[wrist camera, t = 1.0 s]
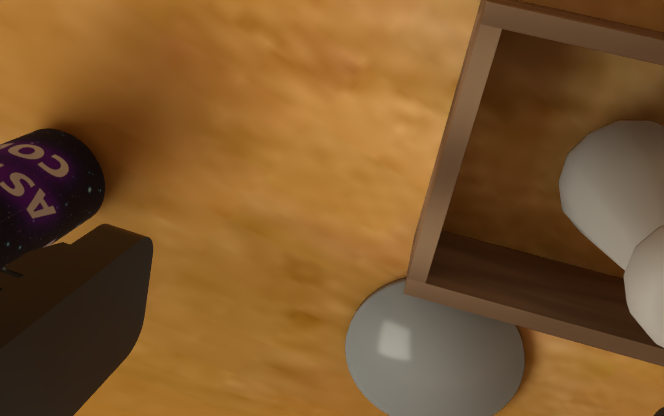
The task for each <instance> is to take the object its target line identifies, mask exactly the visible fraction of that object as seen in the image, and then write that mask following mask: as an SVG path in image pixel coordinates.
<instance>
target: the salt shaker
mask: <svg viewBox="0 0 664 416" xmlns="http://www.w3.org/2000/svg"><path fill="white" fill-rule="evenodd" d="M559 190H560V198H561V205H562V211H563V212H564V213H565V214H566V215H567V217H568V218H569V219H570V220H571V222H572V223H573V224H574V225H575V226H576V228H577V229H578V230H579V231H580V232H581V233H582V234H583V235H584V236H586V237H587V238H588V239H589V240H590V241H591V242H592V243H594V244H595V245H596V246H597V247H598V248H599V249H601V250H602V251H603V252H604V253H605V254H606V255H607V256H609V257H610V258H611V259H612V260H613V261H614V262H615V263H617V264H618V265H619V266H620V267H621V268H622V269H623V270H625V273H624V284H625V292H626V301H627V305H628V308H629V311H630V313H631V314H632V316H633V317H634V318H635V319H636V321H637V322H638V323H639V324H640V326H641V327H642V328H643V329H644V330H645V332H646V333H647V334H648V335H649V336H650V338H651V339H652V340H653V341H654V342H655V343H656V344H657V345H659V346H661V347H663V348H664V126H662V125H660V124H658V123H656V122H653V121H643V120H618V121H615V122H613V123H611V124H608V125H606V126H604V127H601V128H599V129H597V130H594V131H592V132H590V133H589V134H587V135H586V136H585V137H584V138H583V139H582V140H581V141H580V142H579V143H578V144H577V145H576V146H575V147H574V148H573V149H572V150H571V151H570V152H569V153H568V154H567V157H566V160H565V163H564V166H563V169H562V173H561V176H560V179H559Z"/></svg>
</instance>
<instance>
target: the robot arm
mask: <svg viewBox="0 0 664 416" xmlns="http://www.w3.org/2000/svg"><path fill="white" fill-rule="evenodd" d="M152 256H153V243H152V240H151V239H150V238H149V237H146V236H143V235H140V234H137V233H134V232H131V231H128V230H125V229H121V228H118V227H115V226H112V225H109V224H102V225H100V226H98V227H97V228H95V229H93V230H92V231H90V232H89V233H87V234H86V235H84V236H83V237H81V238H80V239H78V240H77V241H75V242H74V243H72V244H71V245H70V244H67V243H64V242H61V243H58V244H54V245H51V246H47V247H44V248H40V249H36V250H33V251H29V252H27V253H26V254H24V255H22V256H21V257H19V258H17V259H16V260H14V261H13V262H11V263H9V264H8V265H6V266H4V267H3V268H2V271H1V272H0V416H73V415H74V414H75V413H76V412H77V411H78V410H79V409H80V408H81V407H82V406H83V404H84V403H85V402H86V401H87V400H88V399H89V398H90V397H91V396H92V395H93V394H94V392H95V391H96V390H97V389H98V388H99V387H100V386H101V385H102V384H103V383H104V381H105V380H106V379H107V378H108V377H109V376H110V375H111V374H112V373H113V372H114V371H115V369H116V368H117V367H118V366H119V365H120V364H121V363H122V362H123V361H124V360H125V359H126V357H127V356H128V355H129V353H130V352H131V351H132V349H133V347H134V345H135V343H136V342H137V339H138V337H139V335H140V332H141V329H142V326H143V321H144V315H145V308H146V301H147V293H148V286H149V278H150V271H151V264H152ZM654 416H664V407H663V408H661V409H660V410H658V411H657V412H656V413H655V415H654Z"/></svg>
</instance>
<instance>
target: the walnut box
mask: <svg viewBox="0 0 664 416" xmlns="http://www.w3.org/2000/svg"><path fill="white" fill-rule="evenodd" d="M502 29H504V30H509V31H513V32H518V33H522V34H526V35H531V36H535V37H540V38H544V39H549V40H553V41H557V42H562V43H566V44H571V45H575V46H580V47H584V48H588V49H593V50H597V51H602V52H606V53H611V54H615V55H619V56H624V57H628V58H633V59H637V60H642V61H646V62H650V63H655V64H659V65H664V33H662V32H657V31H653V30H648V29H644V28H639V27H635V26H630V25H626V24H621V23H617V22H612V21H607V20H603V19H598V18H594V17H589V16H585V15H580V14H576V13H571V12H567V11H562V10H558V9H553V8H548V7H544V6H539V5H535V4H530V3H526V2H521V1H517V0H481V3H480V6H479V10H478V13H477V17H476V20H475V24H474V27H473V31H472V35H471V38H470V42H469V45H468V49H467V52H466V56H465V59H464V63H463V66H462V70H461V73H460V77H459V80H458V84H457V88H456V91H455V95H454V98H453V102H452V105H451V109H450V112H449V116H448V119H447V123H446V126H445V130H444V134H443V137H442V141H441V144H440V148H439V151H438V155H437V158H436V162H435V165H434V169H433V172H432V176H431V179H430V183H429V187H428V190H427V194H426V197H425V201H424V204H423V208H422V211H421V215H420V218H419V222H418V225H417V229H416V232H415V236H414V240H413V246H412V251H411V256H410V261H409V266H408V271H407V277H406V282H405V287H404V292H403V294H406V295H410V296H413V297H417V298H420V299H424V300H428V301H431V302H435V303H438V304H442V305H445V306H449V307H453V308H456V309H460V310H463V311H467V312H471V313H474V314H478V315H481V316H485V317H488V318H492V319H496V320H499V321H503V322H506V323H510V324H513V325H517V326H521V327H524V328H528V329H531V330H535V331H539V332H542V333H546V334H549V335H553V336H556V337H560V338H564V339H567V340H571V341H574V342H578V343H581V344H585V345H589V346H592V347H596V348H599V349H603V350H606V351H610V352H614V353H617V354H621V355H624V356H628V357H632V358H635V359H639V360H642V361H646V362H649V363H653V364H657V365H660V366H664V348H663V347H661V346H659V345H657V344H656V343H655V342H654V341H653V340H652V339H651V338H650V336H649V335H648V334H647V333H646V332H645V330H644V329H643V328H642V327H641V326H640V324H639V323H638V322H637V321H636V319H635V318H634V317H633V316H632V314H631V313H630V311H629V308H628V305H627V301H626V292H625V284H624V279H621V278H617V277H614V276H610V275H606V274H602V273H598V272H595V271H591V270H587V269H583V268H580V267H576V266H572V265H568V264H565V263H561V262H557V261H553V260H550V259H546V258H542V257H538V256H535V255H531V254H527V253H523V252H519V251H516V250H512V249H508V248H504V247H501V246H497V245H493V244H489V243H486V242H482V241H478V240H474V239H471V238H467V237H463V236H459V235H456V234H452V233H448V232H444V231H441V230H442V227H443V223H444V220H445V217H446V213H447V210H448V207H449V203H450V200H451V197H452V193H453V190H454V187H455V184H456V180H457V177H458V174H459V170H460V167H461V164H462V160H463V157H464V154H465V150H466V147H467V144H468V141H469V137H470V134H471V131H472V127H473V124H474V121H475V117H476V114H477V111H478V107H479V104H480V101H481V98H482V94H483V91H484V88H485V84H486V81H487V78H488V74H489V71H490V68H491V64H492V61H493V58H494V55H495V51H496V48H497V45H498V41H499V38H500V35H501V31H502Z"/></svg>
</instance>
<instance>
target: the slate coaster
mask: <svg viewBox="0 0 664 416" xmlns="http://www.w3.org/2000/svg"><path fill="white" fill-rule="evenodd" d="M405 282H406V278H402V279H398V280H395V281H393V282H390V283H388V284H386V285H384V286H382V287H380V288H379V289H377V290H376V291H374V292H373V293H372V294H370V295H369V296H368V297H367V298H366V299H365V300H364V301H363V302H362V303H361V305H360V306H359V308H358V309H357V310H356V312H355V314H354V316H353V318H352V320H351V323H350V326H349V329H348V332H347V337H346V344H345V353H346V360H347V364H348V368H349V371H350V373H351V376H352V378H353V380H354V382H355V383H356V385H357V386H358V388H359V389H360V391H361V392H362V393H363V394H364V396H365V397H366V398H367V399H368V400H369V401H370V402H371V403H372V404H374V405H375V406H376V407H378V408H379V409H380V410H381V411H383V412H385V413H386V414H388V415H390V416H493V415H494V414H496V413H497V412H498V411H500V410H501V409H502V408H503V407H504V406H505V405H506V404H507V403H508V402H509V401H510V400H511V399H512V397H513V396H514V394H515V393H516V391H517V389H518V387H519V385H520V383H521V380H522V377H523V372H524V365H525V360H524V348H523V343H522V338H521V335H520V332H519V329H518V327H517V325H513V324H510V323H506V322H503V321H499V320H496V319H492V318H488V317H485V316H481V315H478V314H474V313H471V312H467V311H463V310H460V309H456V308H453V307H449V306H445V305H442V304H438V303H435V302H431V301H428V300H424V299H420V298H417V297H413V296H410V295H406V294H403V292H404V287H405Z"/></svg>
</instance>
